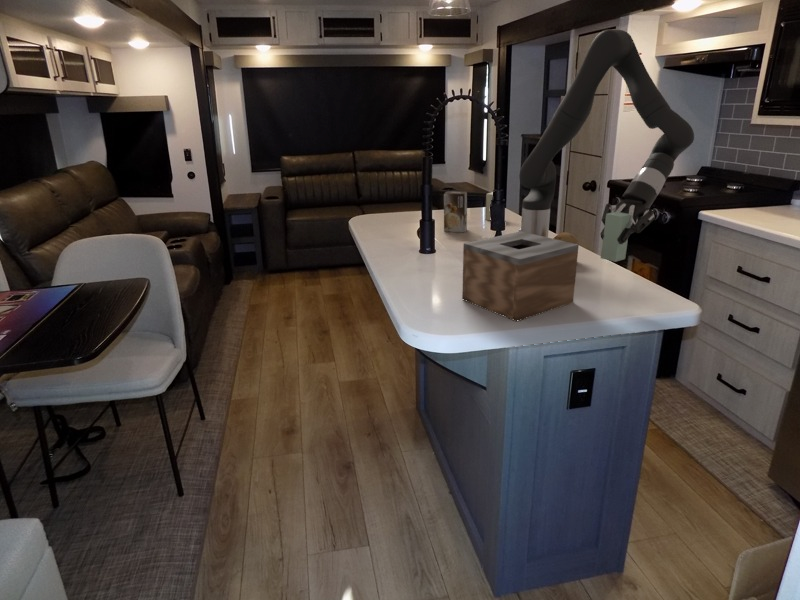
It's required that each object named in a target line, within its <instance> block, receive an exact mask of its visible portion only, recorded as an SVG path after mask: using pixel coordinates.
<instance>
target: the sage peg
mask: <svg viewBox="0 0 800 600" xmlns="http://www.w3.org/2000/svg"><path fill="white" fill-rule="evenodd" d="M630 216H631V214H627V213H621V212H616V211H614V212H612V213H608V214H606V220H605V226H604V227H605V228H604V227H603V229H604V238H603V240H602V245H601V254H600V259H602V260H607V261H611V262H615V263H616V262H619V261H623V260H626V255H627V248H628V243H629V242H628V239H629V238H628V239H627V241H626V242H625V243H623V244H619V242H618V241H617V239H618V237H619V236H620V234H621V233H622V231H623V230H624V228H625V229H626V225H627V223H628V221H629V218H630Z"/></svg>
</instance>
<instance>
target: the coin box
mask: <svg viewBox="0 0 800 600" xmlns="http://www.w3.org/2000/svg"><path fill="white" fill-rule="evenodd" d="M579 246H580V245H579V243H578V244H574V243H569V242H565V241H560V240H556V239H553V238H551V237H548V238H547V237H543V236H539V235H534V234H530V233H525V232H521V231H520V232H519V231H516V232H512V233H506V234H503V235H502V234H501V235H498V236H492V237H488V238H484V239H478V240H474V241H470V242H469V241H468V242H464V243H463V248H462V249H463V250H462V252H463V256H462V259H463V260H462V261H463V262H462V292H461V293H462V295H461V296H462V297H461V299H464V300H467V301H469V302H471V303H470V304H472V303H473V304H472V305H474V304H476V305H478V306H477V307H479V306H481V307H483V309H484V308H486V309H488V310H487V311H489V310H491V311H493V312H492V313H494V312H496V313H498V314H497V315H499V314H501V315H504V316H506V317H508V318H507V319H509V318H511V319H514V320H516V321H515V322H518V321H517V320H519V321H521V320H520V319H522V320H525V319H527V318H526V317H528V318H530V317H529V316H531V317H534V316H537V315H539V313H540V314H542V312H543V313H545V311H546V312H549V311H552V310H555V309H557V307H558V308H561V307H563V305H564V306H566V304H567V305H570V304H572V303H574V298H575V297H574V296H575V295H574V294H575V285H576V278H577V277H576V275H577V264H578V255H579ZM464 300H463V301H464ZM467 301H466V302H467ZM469 302H468V303H469ZM476 305H475V306H476ZM560 306H561V307H560ZM481 307H480V308H481ZM554 308H555V309H554ZM486 309H485V310H486ZM551 309H552V310H551ZM548 310H549V311H548ZM491 311H490V312H491ZM496 313H495V314H496ZM536 314H537V315H536ZM501 315H500V316H501ZM533 315H534V316H533ZM504 316H503V317H504ZM506 317H505V318H506ZM524 318H525V319H524ZM511 319H510V320H511ZM514 320H513V321H514Z"/></svg>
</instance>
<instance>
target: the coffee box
mask: <svg viewBox="0 0 800 600" xmlns="http://www.w3.org/2000/svg"><path fill="white" fill-rule="evenodd" d="M467 221H468V191H445V192H444V193H443V232H448V231H454V233H465V232H466V231H467V230H468V228H467V227H468V226H467V225H468V222H467Z"/></svg>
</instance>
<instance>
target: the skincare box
mask: <svg viewBox="0 0 800 600" xmlns="http://www.w3.org/2000/svg"><path fill="white" fill-rule="evenodd" d="M493 192H494V191H492V192H488V193H486V194H485V195H486V196H485V217H484V220H485V221H490V211H489V207H490V204H491V200H492V197H493Z"/></svg>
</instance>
